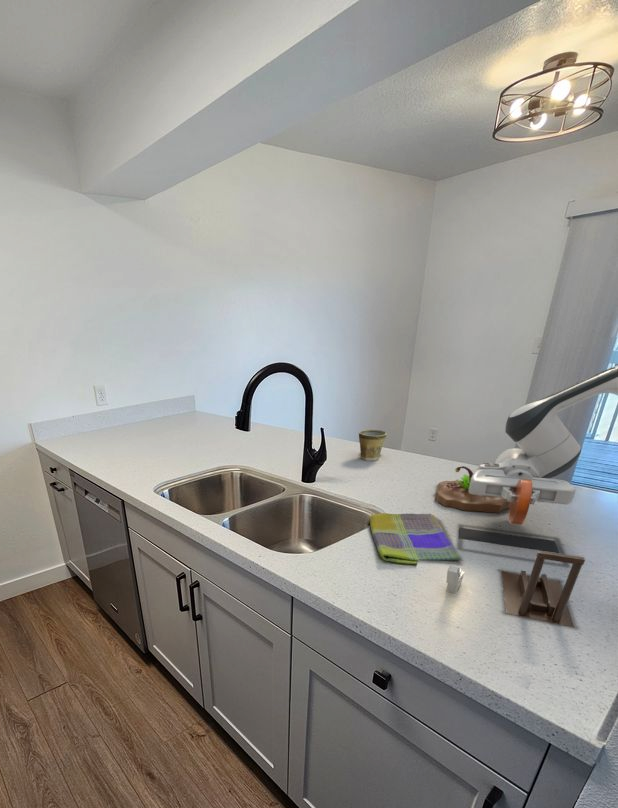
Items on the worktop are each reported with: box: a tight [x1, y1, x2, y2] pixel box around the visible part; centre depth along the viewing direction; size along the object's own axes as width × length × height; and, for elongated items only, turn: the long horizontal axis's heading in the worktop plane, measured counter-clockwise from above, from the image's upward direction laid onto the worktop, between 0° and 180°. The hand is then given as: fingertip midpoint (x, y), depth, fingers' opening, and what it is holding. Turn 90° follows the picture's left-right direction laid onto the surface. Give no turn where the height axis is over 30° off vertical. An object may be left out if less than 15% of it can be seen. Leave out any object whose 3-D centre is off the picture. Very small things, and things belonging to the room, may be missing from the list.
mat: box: [458, 527, 561, 554], centre depth 102 cm, size 20×14×1 cm
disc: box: [508, 479, 532, 526], centre depth 97 cm, size 2×10×10 cm, turn 152°
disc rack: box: [500, 550, 586, 628], centre depth 80 cm, size 10×16×14 cm, turn 152°
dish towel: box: [368, 512, 461, 565], centre depth 107 cm, size 18×24×3 cm
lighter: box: [445, 565, 465, 595], centre depth 85 cm, size 7×2×8 cm, turn 139°
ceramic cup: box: [358, 429, 388, 462], centre depth 168 cm, size 13×10×10 cm
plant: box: [434, 462, 511, 514], centre depth 126 cm, size 20×20×11 cm
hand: (521, 500), depth 96 cm, fingers closed on disc, 2 cm apart
